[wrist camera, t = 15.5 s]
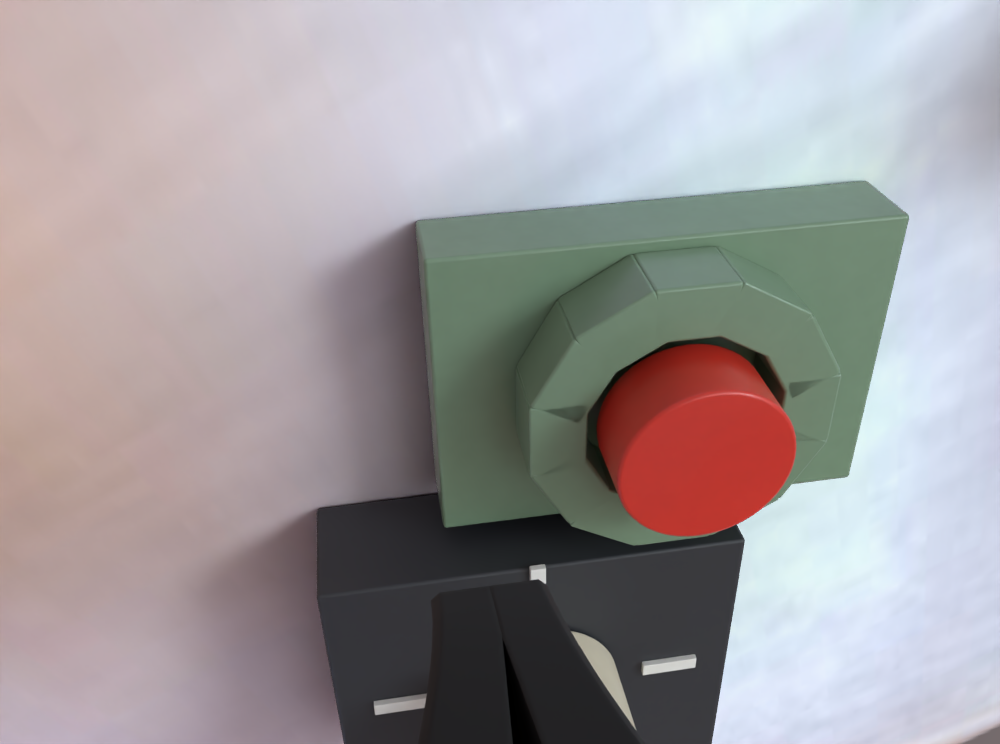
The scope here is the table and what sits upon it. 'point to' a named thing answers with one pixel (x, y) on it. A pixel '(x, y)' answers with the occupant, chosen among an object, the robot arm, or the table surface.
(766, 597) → the table surface
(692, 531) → the button
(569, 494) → the button housing
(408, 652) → the control panel
